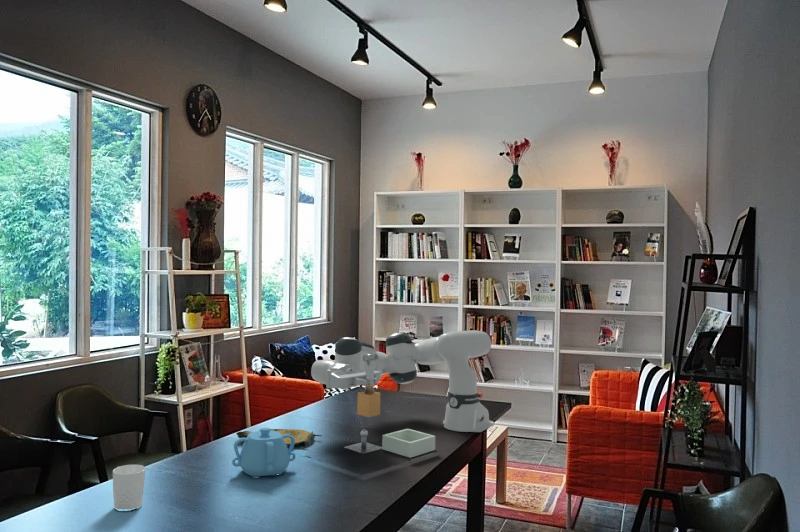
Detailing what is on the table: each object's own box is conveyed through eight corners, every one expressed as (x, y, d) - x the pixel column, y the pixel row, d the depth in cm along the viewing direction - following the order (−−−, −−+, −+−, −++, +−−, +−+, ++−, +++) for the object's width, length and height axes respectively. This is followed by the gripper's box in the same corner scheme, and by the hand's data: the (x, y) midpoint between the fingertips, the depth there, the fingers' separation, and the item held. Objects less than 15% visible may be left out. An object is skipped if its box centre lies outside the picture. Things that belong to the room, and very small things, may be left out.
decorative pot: (225, 474, 194) (226, 430, 194) (261, 460, 208) (261, 419, 208) (267, 485, 186) (268, 438, 186) (301, 469, 201) (302, 426, 200)
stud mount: (364, 445, 229) (364, 424, 229) (384, 451, 222) (384, 429, 222) (343, 450, 222) (343, 429, 222) (363, 457, 215) (363, 434, 215)
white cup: (118, 501, 171) (118, 464, 171) (148, 501, 171) (149, 464, 171) (107, 513, 163) (108, 474, 163) (138, 513, 164) (139, 474, 164)
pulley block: (247, 418, 237) (322, 426, 229) (248, 433, 238) (323, 441, 230) (227, 433, 224) (307, 442, 216) (228, 449, 225) (307, 459, 217)
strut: (368, 411, 226) (370, 352, 225) (379, 414, 222) (381, 354, 222) (357, 414, 221) (359, 353, 221) (368, 417, 218) (370, 356, 217)
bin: (407, 445, 230) (407, 428, 230) (434, 453, 222) (435, 436, 222) (382, 452, 221) (382, 435, 221) (410, 461, 212) (410, 443, 212)
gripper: (364, 381, 238) (391, 387, 229) (322, 388, 223) (349, 395, 213) (365, 364, 238) (392, 369, 228) (323, 370, 223) (350, 376, 213)
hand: (371, 382), depth 221 cm, fingers closed on strut, 3 cm apart
